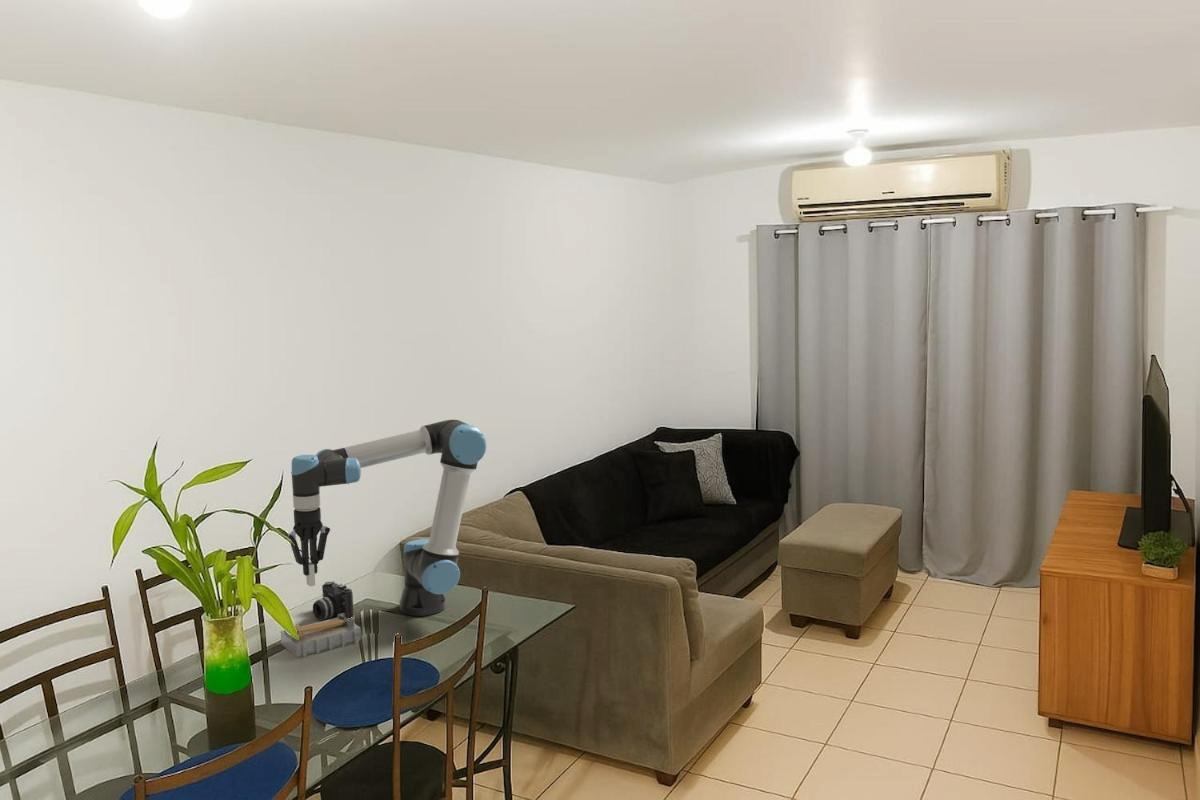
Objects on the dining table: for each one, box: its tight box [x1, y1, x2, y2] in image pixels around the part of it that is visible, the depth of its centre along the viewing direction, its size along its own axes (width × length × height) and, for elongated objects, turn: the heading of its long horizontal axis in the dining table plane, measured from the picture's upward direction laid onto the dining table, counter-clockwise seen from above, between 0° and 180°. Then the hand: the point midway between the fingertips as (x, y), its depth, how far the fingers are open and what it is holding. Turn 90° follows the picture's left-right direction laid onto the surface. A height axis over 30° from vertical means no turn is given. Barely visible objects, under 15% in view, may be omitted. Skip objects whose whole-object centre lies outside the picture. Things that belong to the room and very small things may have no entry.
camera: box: [312, 580, 354, 621], centre depth 301 cm, size 14×11×10 cm
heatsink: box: [280, 613, 362, 658], centre depth 281 cm, size 20×14×6 cm
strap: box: [295, 617, 348, 635], centre depth 281 cm, size 17×5×1 cm, turn 130°
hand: (310, 584), depth 277 cm, fingers closed
